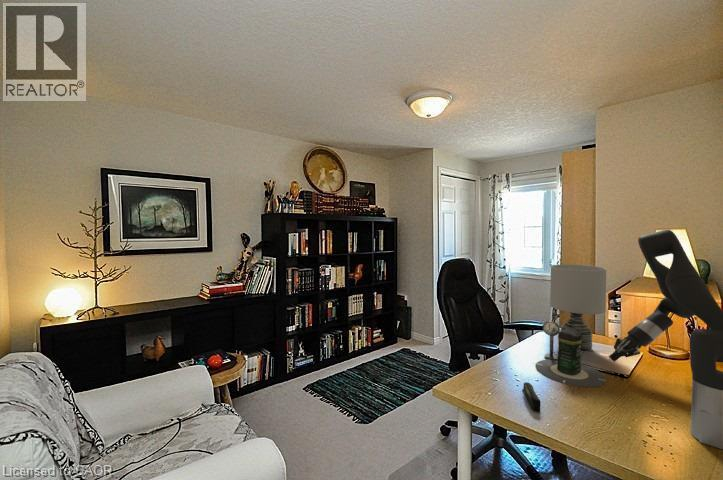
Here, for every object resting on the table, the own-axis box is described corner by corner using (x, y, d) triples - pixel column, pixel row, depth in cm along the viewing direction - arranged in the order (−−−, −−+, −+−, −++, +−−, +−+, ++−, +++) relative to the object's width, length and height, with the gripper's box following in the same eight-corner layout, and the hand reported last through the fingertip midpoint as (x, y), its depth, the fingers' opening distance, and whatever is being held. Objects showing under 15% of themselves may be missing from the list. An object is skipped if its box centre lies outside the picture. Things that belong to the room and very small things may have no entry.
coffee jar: (574, 378, 134) (575, 334, 133) (554, 371, 140) (555, 329, 139) (584, 371, 139) (584, 330, 138) (564, 365, 146) (565, 325, 145)
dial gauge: (558, 361, 150) (559, 323, 150) (542, 357, 155) (542, 320, 154) (560, 358, 154) (561, 320, 153) (544, 354, 159) (544, 318, 158)
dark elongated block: (542, 400, 110) (528, 378, 124) (532, 399, 110) (520, 378, 125) (542, 414, 110) (528, 391, 125) (532, 413, 110) (520, 390, 125)
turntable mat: (603, 394, 121) (603, 393, 121) (528, 373, 139) (528, 373, 139) (608, 370, 141) (608, 369, 141) (542, 355, 158) (542, 354, 158)
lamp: (594, 360, 151) (596, 272, 149) (541, 345, 171) (542, 267, 169) (611, 348, 165) (613, 267, 164) (561, 335, 185) (562, 263, 183)
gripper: (663, 345, 126) (627, 372, 129) (641, 333, 139) (609, 359, 142) (648, 331, 127) (613, 359, 130) (627, 321, 140) (596, 347, 143)
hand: (611, 359), depth 136 cm, fingers closed
